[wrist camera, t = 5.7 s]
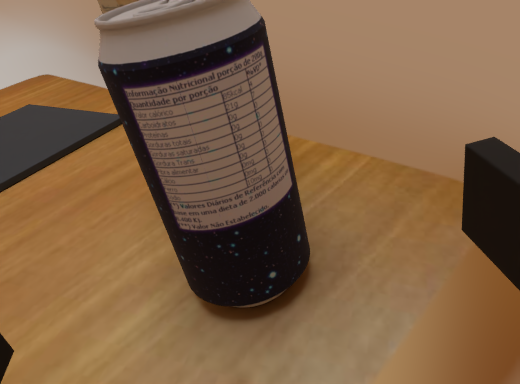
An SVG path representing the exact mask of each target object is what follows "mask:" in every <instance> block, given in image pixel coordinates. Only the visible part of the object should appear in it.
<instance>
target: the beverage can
mask: <svg viewBox="0 0 520 384" xmlns="http://www.w3.org/2000/svg"><path fill="white" fill-rule="evenodd" d="M95 25H96V27H97V28H98V29H99V30H100V48H99V60H98V66H99V69H100V71H101V74H102V76H103V78H104V81H105V83H106V86H107V88H108V90H109V93H110V95H111V98H112V100H113V103H114V105H115V107H116V110H117V112H118V115H119V117H120V119H121V122H122V124H123V127H124V129H125V131H126V134H127V136H128V139H129V141H130V144H131V146H132V148H133V151H134V153H135V156H136V158H137V160H138V163H139V165H140V168H141V170H142V172H143V175H144V177H145V180H146V182H147V185H148V187H149V189H150V192H151V194H152V197H153V199H154V201H155V204H156V206H157V209H158V211H159V213H160V216H161V218H162V221H163V223H164V225H165V228H166V230H167V233H168V235H169V238H170V240H171V242H172V245H173V247H174V250H175V252H176V254H177V257H178V259H179V262H180V264H181V266H182V269H183V271H184V274H185V276H186V279H187V281H188V283H189V286H190V288H191V289H192V291H193V292H194V293H195V294H196V295H197V296H198V297H200V298H201V299H203V300H205V301H207V302H210V303H213V304H216V305H221V306H232V307H240V308H242V307H253V306H257V305H261V304H264V303H267V302H269V301H271V300H273V299H275V298H276V297H278V296H279V295H281V294H282V293H283V292H284V291H285V290H286V289H287V288H288V287H290V286H291V285H292V284H293V283H294V282H295V281H296V280H297V279H298V278H299V277H300V276H301V274H302V273H303V271H304V270H305V268H306V266H307V264H308V261H309V256H310V248H309V242H308V237H307V232H306V227H305V222H304V217H303V212H302V207H301V202H300V197H299V192H298V187H297V182H296V177H295V172H294V167H293V162H292V157H291V152H290V147H289V142H288V137H287V132H286V128H285V122H284V117H283V112H282V107H281V102H280V97H279V92H278V87H277V82H276V77H275V72H274V67H273V61H272V57H271V51H270V46H269V42H268V37H267V32H266V26H265V21H264V19H263V18H262V16H261V15H260V14H259V12H258V11H257V10H256V9H255V7H254V6H253V5H252V4H251V2H250V1H249V0H140V1H137V2H134V3H130V4H127V5H125V6H122V7H119V8H116V9H114V10H111V11H109V12H107V13H104V14H102V15H100V16H99V17H97V18H96V19H95Z"/></svg>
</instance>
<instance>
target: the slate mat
mask: <svg viewBox="0 0 520 384" xmlns="http://www.w3.org/2000/svg"><path fill="white" fill-rule="evenodd" d="M120 124H122V122H121V119H120V117H119V115H118V114H109V113H100V112H91V111H83V110H74V109H65V108H56V107H48V106H39V105H30V104H29V105H27V106H24V107H22V108H20V109H18V110H15V111H13V112H11V113H9V114H7V115H4V116H2V117H0V192H1V191H3V190H4V189H6V188H8V187H10V186H11V185H13V184H15V183H17V182H19V181H20V180H22V179H24V178H26V177H27V176H29V175H31V174H33V173H35V172H36V171H38V170H40V169H42V168H44V167H45V166H47V165H49V164H51V163H52V162H54V161H56V160H58V159H60V158H61V157H63V156H65V155H67V154H68V153H70V152H72V151H74V150H76V149H77V148H79V147H81V146H83V145H85V144H86V143H88V142H90V141H92V140H93V139H95V138H97V137H99V136H101V135H102V134H104V133H106V132H108V131H109V130H111V129H113V128H115V127H117V126H118V125H120Z"/></svg>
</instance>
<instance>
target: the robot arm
mask: <svg viewBox="0 0 520 384" xmlns="http://www.w3.org/2000/svg"><path fill="white" fill-rule="evenodd" d="M462 231H463V232H464V233H465V234H466V235H467V236H468V237H469V238H470V239H471V240H472V241H473V242H474V243H475V244H476V245H477V246H478V247H479V248H480V249H481V250H482V251H483V253H484V254H486V256H487V257H488V258H489V259H490V260H491V261H492V262H493V263H494V264H495V265H496V266H497V267H498V268H499V269H500V270H501V271H502V273H503V274H504V275H505V276H506V277H507V278H508V279H509V280H510V281H511V282H512V283H513V284H514V285H515V286H516V287H517V288H518V289H519V290H520V153H519V152H517V151H516V150H514V149H513V148H511V147H510V146H508V145H506V144H505V143H503V142H502V141H500V140H498V139H497V138H495V137H492V138H488V139H484V140H481V141H477V142H473V143H470V144H466V145H465V167H464V189H463V213H462ZM13 352H14V350H13V349H12V347H11V346H10V345H9V344H8V342H7V341H6V340H5V339H4V337H3V336H2V335H1V334H0V383H1V381H2V379H3V376H4V374H5V371H6V369H7V367H8V364H9V362H10V359H11V357H12V355H13Z"/></svg>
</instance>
